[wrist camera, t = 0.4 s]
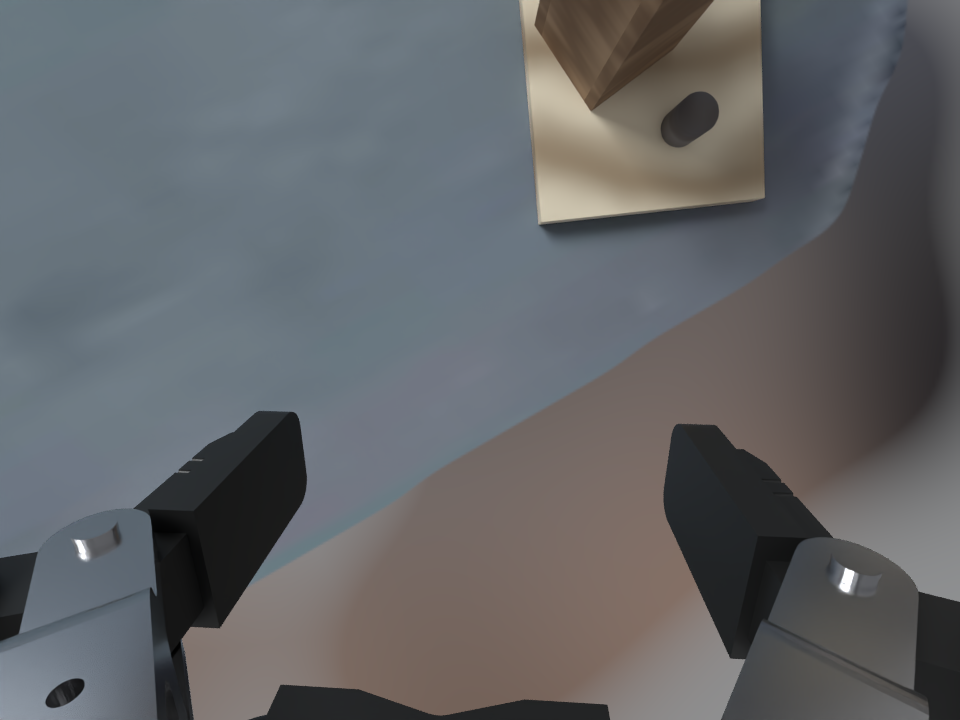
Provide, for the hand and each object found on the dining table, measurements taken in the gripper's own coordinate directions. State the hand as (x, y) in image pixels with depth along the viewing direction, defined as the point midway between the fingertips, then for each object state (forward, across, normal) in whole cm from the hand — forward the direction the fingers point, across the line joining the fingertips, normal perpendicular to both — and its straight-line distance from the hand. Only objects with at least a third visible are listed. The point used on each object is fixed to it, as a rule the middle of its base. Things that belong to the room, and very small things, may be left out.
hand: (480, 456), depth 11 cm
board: (+30, -9, -13) cm, 34 cm away
